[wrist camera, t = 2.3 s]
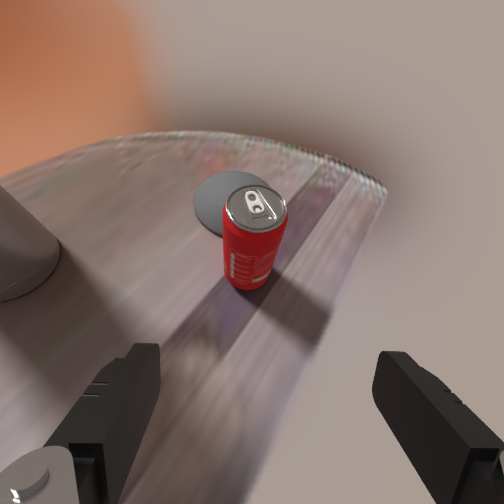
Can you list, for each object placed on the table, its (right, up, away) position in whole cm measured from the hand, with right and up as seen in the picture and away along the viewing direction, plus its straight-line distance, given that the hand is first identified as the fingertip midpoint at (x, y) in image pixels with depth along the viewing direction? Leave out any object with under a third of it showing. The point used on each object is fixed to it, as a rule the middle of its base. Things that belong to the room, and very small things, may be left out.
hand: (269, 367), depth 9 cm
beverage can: (-1, +2, +21) cm, 21 cm away
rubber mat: (-3, +11, +26) cm, 28 cm away
